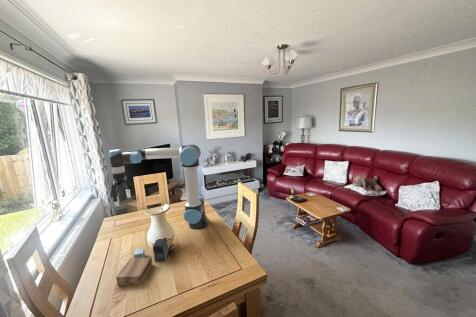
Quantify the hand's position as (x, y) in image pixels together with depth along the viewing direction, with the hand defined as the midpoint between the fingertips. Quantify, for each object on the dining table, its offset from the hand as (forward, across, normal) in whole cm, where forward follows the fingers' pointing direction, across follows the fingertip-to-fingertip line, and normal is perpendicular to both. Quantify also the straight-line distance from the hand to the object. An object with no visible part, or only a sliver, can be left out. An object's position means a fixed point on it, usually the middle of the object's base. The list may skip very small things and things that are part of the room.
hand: (123, 201), depth 139 cm
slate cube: (+28, +23, +20) cm, 41 cm away
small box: (+28, +20, +33) cm, 48 cm away
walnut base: (+28, +36, +25) cm, 52 cm away
